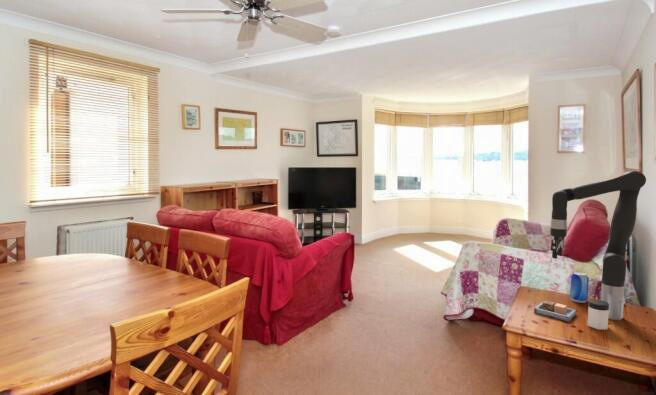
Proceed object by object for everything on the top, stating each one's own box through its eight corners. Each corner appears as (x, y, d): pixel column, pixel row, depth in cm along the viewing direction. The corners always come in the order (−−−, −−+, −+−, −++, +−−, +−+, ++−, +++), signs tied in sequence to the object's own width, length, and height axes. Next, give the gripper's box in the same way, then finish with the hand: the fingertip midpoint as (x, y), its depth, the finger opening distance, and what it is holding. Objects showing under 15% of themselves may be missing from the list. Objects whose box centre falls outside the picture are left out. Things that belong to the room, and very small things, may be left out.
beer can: (590, 303, 212) (592, 275, 210) (575, 303, 212) (577, 275, 211) (581, 297, 220) (582, 271, 219) (566, 298, 220) (568, 271, 219)
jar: (612, 328, 181) (613, 303, 180) (602, 331, 177) (604, 306, 176) (592, 321, 189) (593, 297, 188) (582, 324, 185) (584, 300, 184)
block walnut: (554, 310, 200) (555, 302, 200) (551, 313, 197) (552, 304, 197) (545, 308, 204) (545, 300, 203) (542, 310, 201) (542, 302, 200)
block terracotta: (566, 313, 196) (566, 305, 196) (563, 316, 193) (564, 307, 193) (556, 311, 200) (557, 303, 199) (553, 313, 197) (554, 305, 196)
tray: (575, 314, 197) (576, 309, 197) (568, 321, 188) (568, 317, 188) (542, 306, 209) (542, 301, 208) (533, 312, 200) (534, 308, 200)
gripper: (562, 230, 195) (560, 260, 197) (570, 226, 205) (568, 255, 207) (546, 228, 201) (545, 258, 203) (555, 224, 211) (553, 253, 212)
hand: (557, 256), depth 205 cm, fingers open, 8 cm apart
